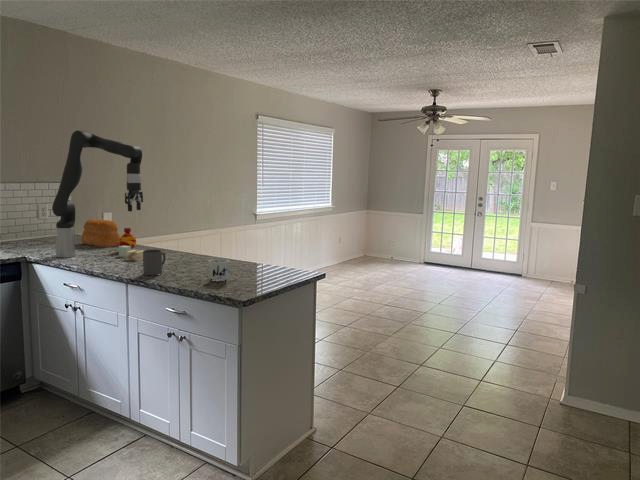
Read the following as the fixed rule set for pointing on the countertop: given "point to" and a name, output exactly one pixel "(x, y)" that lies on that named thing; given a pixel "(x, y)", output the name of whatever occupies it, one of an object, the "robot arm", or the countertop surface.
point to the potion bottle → (127, 239)
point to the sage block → (124, 250)
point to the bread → (100, 233)
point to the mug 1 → (153, 262)
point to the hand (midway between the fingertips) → (134, 210)
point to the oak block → (134, 255)
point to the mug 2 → (218, 268)
